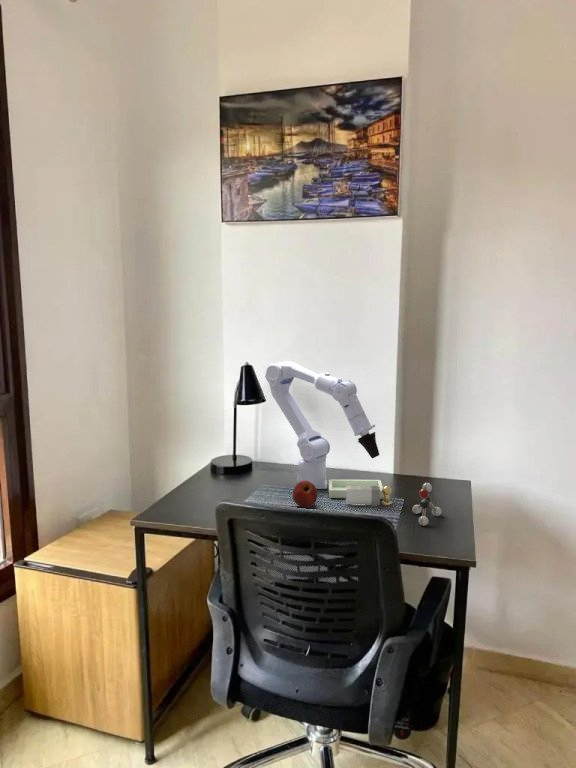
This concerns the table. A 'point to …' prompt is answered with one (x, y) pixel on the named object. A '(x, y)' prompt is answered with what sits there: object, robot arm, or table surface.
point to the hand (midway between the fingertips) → (375, 456)
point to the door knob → (386, 495)
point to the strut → (363, 495)
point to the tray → (339, 486)
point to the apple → (305, 494)
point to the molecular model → (425, 504)
